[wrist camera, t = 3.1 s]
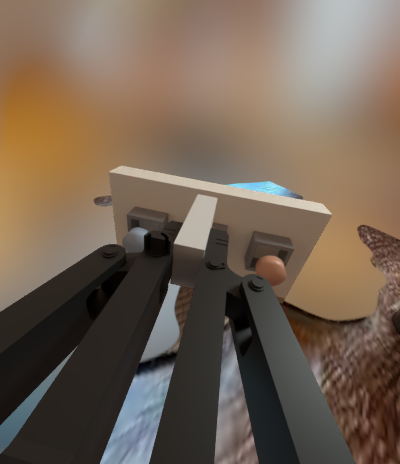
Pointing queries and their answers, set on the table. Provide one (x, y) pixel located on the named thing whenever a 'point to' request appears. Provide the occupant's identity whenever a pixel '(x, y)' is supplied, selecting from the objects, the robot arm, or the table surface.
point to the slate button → (134, 240)
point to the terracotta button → (271, 269)
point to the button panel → (222, 218)
